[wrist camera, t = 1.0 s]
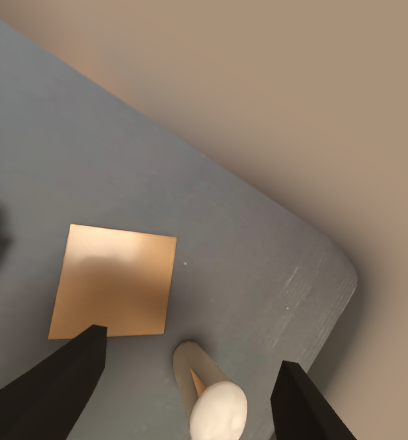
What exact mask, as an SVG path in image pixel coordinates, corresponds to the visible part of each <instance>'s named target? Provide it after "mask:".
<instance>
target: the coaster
mask: <svg viewBox="0 0 408 440" xmlns="http://www.w3.org/2000/svg"><path fill="white" fill-rule="evenodd" d="M176 241H177V237H170V236H162V235H154V234H146V233H139V232H131V231H123V230H115V229H108V228H100V227H92V226H84V225H77V224H71V225H70V230H69V235H68V240H67V245H66V250H65V255H64V260H63V265H62V270H61V276H60V281H59V286H58V291H57V296H56V301H55V306H54V311H53V316H52V321H51V326H50V332H49V337H48V339H68V338H75V337H76V336H77V335H79V334H80V333H82V332H83V331H84V330H86V329H87V328H88V327H90V326H91V325H93V324H95V325H100V326H105V327H108V329H107V337H109V336H129V335H149V334H164V328H165V320H166V313H167V306H168V299H169V291H170V284H171V277H172V270H173V262H174V255H175V248H176Z"/></svg>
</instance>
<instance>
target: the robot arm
mask: <svg viewBox="0 0 408 440" xmlns="http://www.w3.org/2000/svg"><path fill="white" fill-rule="evenodd" d="M107 329H108V327H105V326H100V325H95V324H93V325H91V326H90V327H88V328H87V329H86V330H84V331H83V332H82V333H80V334H79V335H77V336H76V337H75V338H73V339H72V340H71V341H69V342H68V343H67V344H65V345H64V346H63V347H61V348H60V349H59V350H57V351H56V352H54V353H53V354H52V355H50V356H49V357H47V358H46V359H45V360H43V361H42V362H40V363H39V364H38V365H36V366H35V367H33V368H32V369H31V370H29V371H28V372H26V373H25V374H23V375H22V376H20V377H19V378H17V379H16V380H14V381H13V382H11V383H10V384H8V385H7V386H5V387H4V388H2V389H1V390H0V440H66V438H67V436H68V435H69V433H70V431H71V430H72V428H73V426H74V425H75V423H76V421H77V420H78V418H79V416H80V414H81V413H82V411H83V409H84V408H85V406H86V404H87V402H88V401H89V399H90V397H91V395H92V393H93V391H94V389H95V387H96V385H97V383H98V381H99V378H100V376H101V374H102V372H103V370H104V368H105V358H106V343H107ZM270 400H271V407H272V414H273V421H274V427H275V433H276V438H277V440H357V439H356V438H355V437H354V436H353V435H352V433H351V432H350V431H349V429H348V428H347V427H346V425H345V424H344V423H343V422H342V420H341V419H340V418H339V416H338V415H337V414H336V413H335V411H334V410H333V409H332V407H331V406H330V405H329V403H328V402H327V401H326V400H325V398H324V397H323V395H322V394H321V393H320V392H319V390H318V389H317V388H316V386H315V385H314V384H313V382H312V381H311V380H310V378H309V377H308V376H307V374H306V373H305V372H304V370H303V369H302V368H301V366H300V365H299V364H298V363H295V362H289V361H284V360H283V361H282V364H281V368H280V371H279V374H278V377H277V380H276V383H275V386H274V389H273V392H272V395H271V398H270Z"/></svg>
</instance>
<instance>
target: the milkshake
mask: <svg viewBox="0 0 408 440" xmlns="http://www.w3.org/2000/svg"><path fill="white" fill-rule="evenodd" d="M172 365H173V369H174V372H175V376H176V379H177V383H178V387H179V390H180V394H181V397H182V401H183V404H184V408H185V412H186V416H187V421H188V425H189V429H190V434H191V438H192V440H239V438H240V436H241V434H242V432H243V429H244V426H245V422H246V415H247V401H246V397H245V395H244V393H243V391H242V390H241V389H240V388H239V387H238V386H237V385H236V384H235V383H234V382H233V381H232V380H231V379H230V378H229V377H228V376H227V375H226V374H225V373H224V372H223V371H222V370H221V369H220V368H219V367H218V366H217V365H216V364H215V363H214V362H213V361H212V359H211V358H210V357H209V356H208V355H207V354H206V353H205V352H204V351H203V350H202V349H201V347H200V346H199V345H198V344H197V343H196V342H192V341H186V342H184V343H182V344H180V345H178V347H177V348H176V350H175V352H174V353H173V362H172Z"/></svg>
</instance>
